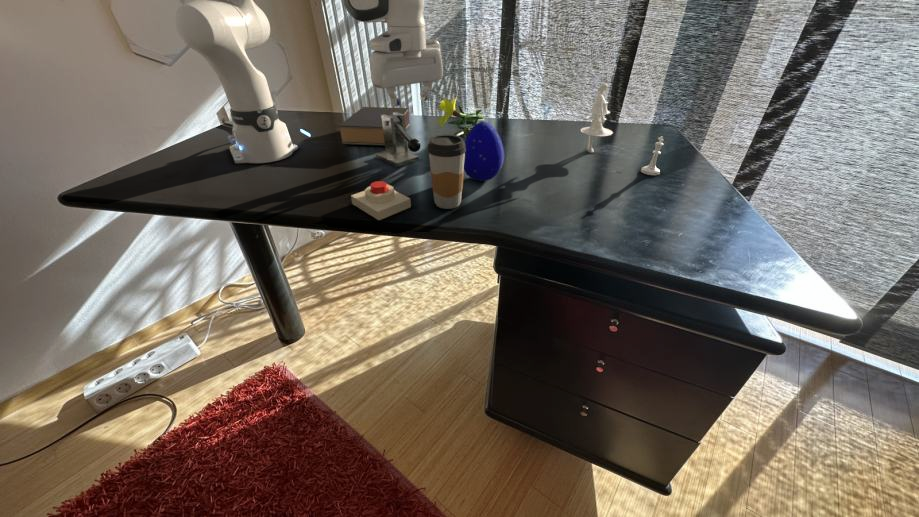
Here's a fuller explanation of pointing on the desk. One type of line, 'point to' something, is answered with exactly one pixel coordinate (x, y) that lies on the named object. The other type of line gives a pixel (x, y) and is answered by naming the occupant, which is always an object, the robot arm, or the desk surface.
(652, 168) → the chess piece
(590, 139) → the figurine
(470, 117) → the daffodil flowers
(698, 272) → the desk surface
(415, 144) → the lever
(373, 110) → the book
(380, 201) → the block
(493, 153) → the ornament
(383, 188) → the button
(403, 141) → the metal bracket
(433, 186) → the coffee cup
